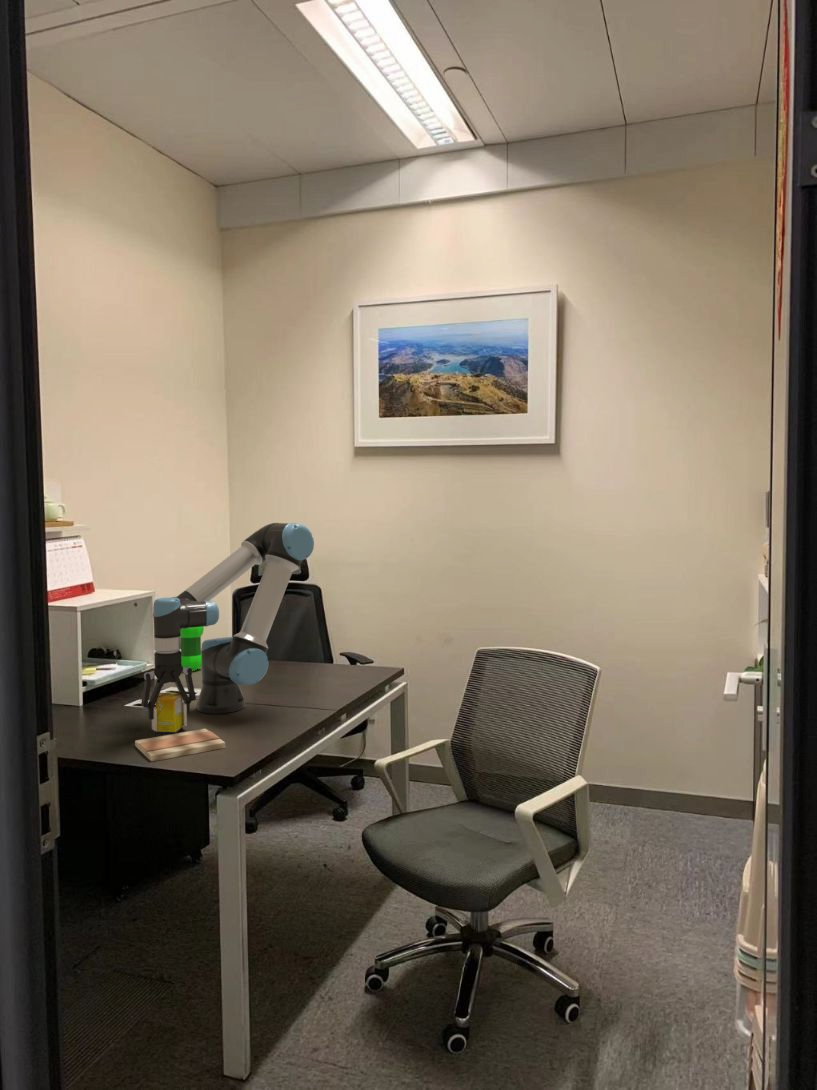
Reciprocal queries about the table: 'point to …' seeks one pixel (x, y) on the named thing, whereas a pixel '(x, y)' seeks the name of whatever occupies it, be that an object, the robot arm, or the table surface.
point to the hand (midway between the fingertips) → (169, 727)
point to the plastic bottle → (191, 647)
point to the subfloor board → (179, 744)
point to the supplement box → (169, 713)
